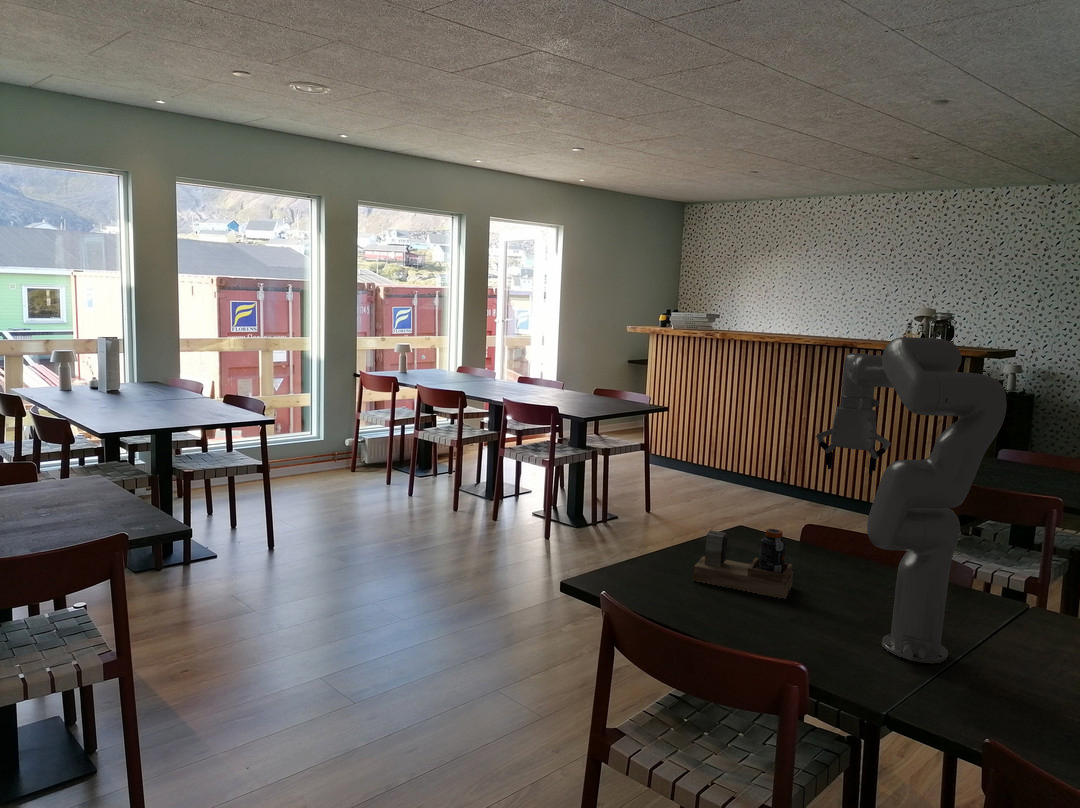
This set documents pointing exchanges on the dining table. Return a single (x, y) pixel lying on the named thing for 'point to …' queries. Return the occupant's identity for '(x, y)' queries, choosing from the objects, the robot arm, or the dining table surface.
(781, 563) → the pill bottle
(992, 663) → the dining table surface
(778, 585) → the wooden holder
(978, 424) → the robot arm
